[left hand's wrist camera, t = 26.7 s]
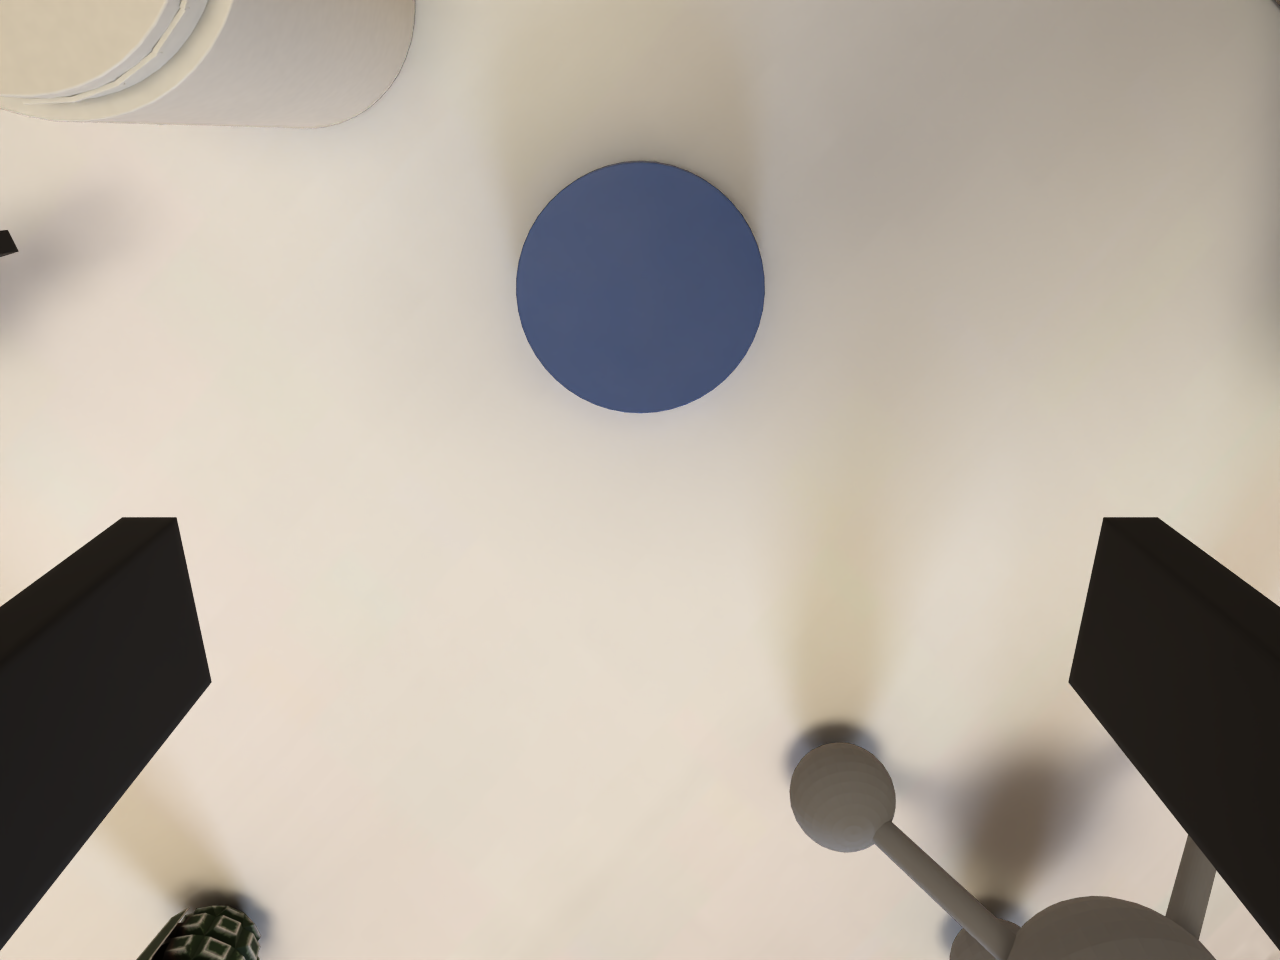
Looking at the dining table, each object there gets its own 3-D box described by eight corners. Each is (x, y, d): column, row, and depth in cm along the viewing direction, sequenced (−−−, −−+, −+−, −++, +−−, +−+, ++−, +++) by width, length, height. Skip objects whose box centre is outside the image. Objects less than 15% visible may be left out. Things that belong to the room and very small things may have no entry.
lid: (531, 145, 37) (526, 145, 35) (778, 178, 38) (786, 180, 36) (513, 386, 41) (507, 398, 39) (737, 413, 42) (742, 426, 40)
